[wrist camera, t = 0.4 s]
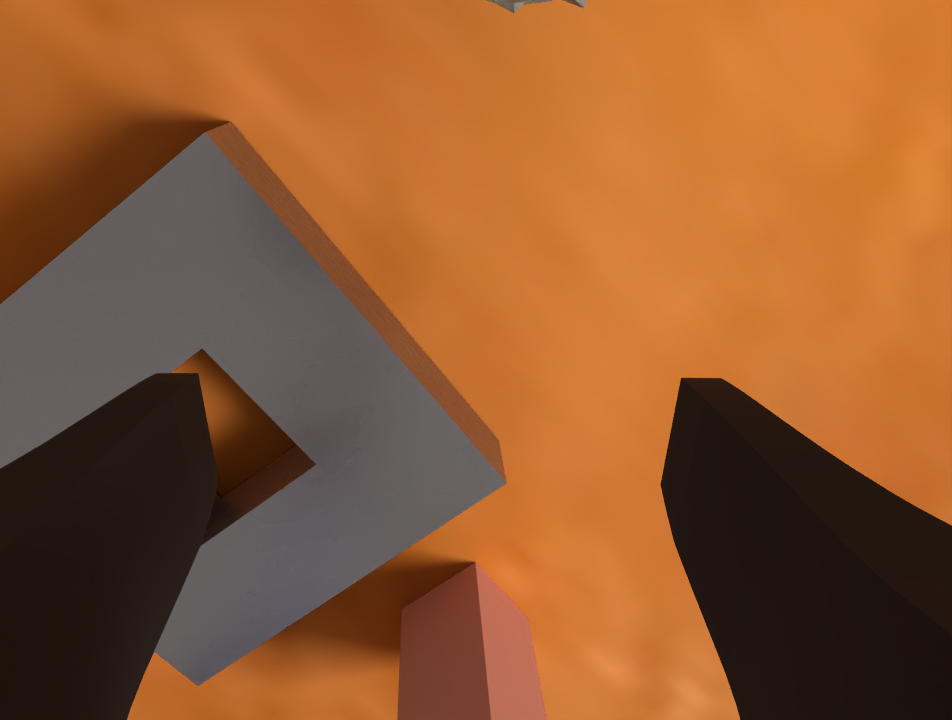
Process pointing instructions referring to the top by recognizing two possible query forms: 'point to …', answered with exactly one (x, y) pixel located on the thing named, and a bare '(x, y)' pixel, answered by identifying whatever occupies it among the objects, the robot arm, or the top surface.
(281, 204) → the gray slotted base
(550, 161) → the top surface
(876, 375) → the top surface
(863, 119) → the top surface
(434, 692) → the reddish brown rectangular block
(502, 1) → the fossil
